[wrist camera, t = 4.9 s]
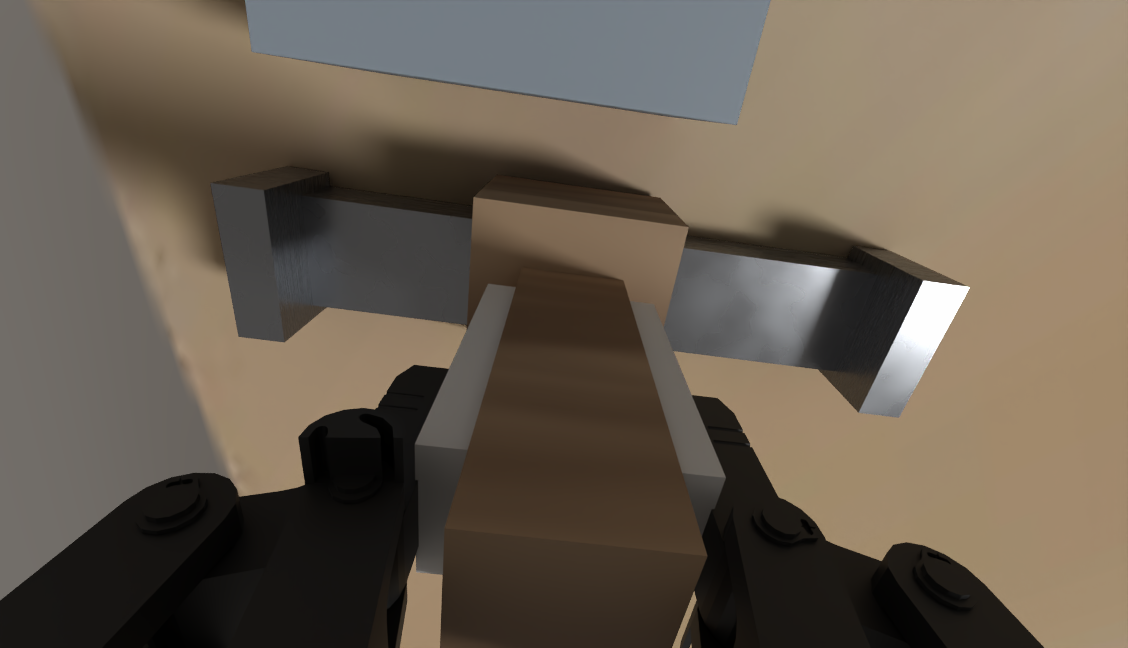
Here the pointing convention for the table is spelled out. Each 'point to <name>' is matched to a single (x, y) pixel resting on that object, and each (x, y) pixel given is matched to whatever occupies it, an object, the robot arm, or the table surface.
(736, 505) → the robot arm
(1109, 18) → the table surface
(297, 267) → the rail
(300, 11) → the block with square hole
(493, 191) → the carriage
